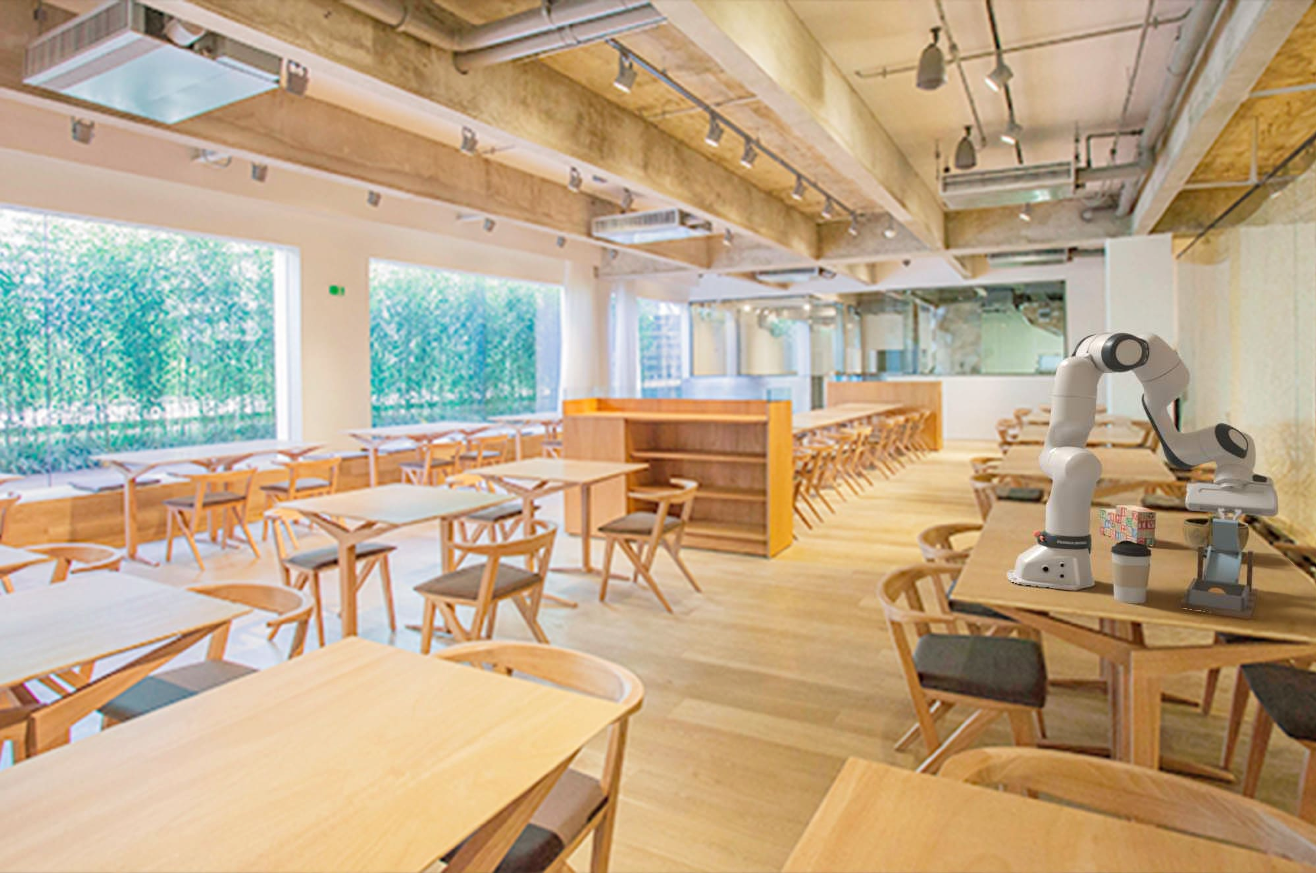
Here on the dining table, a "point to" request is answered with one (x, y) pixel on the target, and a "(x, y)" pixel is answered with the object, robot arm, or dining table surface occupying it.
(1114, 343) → the robot arm
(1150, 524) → the stack of blocks
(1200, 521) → the ceramic bowl
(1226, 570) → the tipping lever
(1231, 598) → the bin
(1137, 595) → the coffee cup
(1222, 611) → the walnut lever base
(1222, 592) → the orange ball
